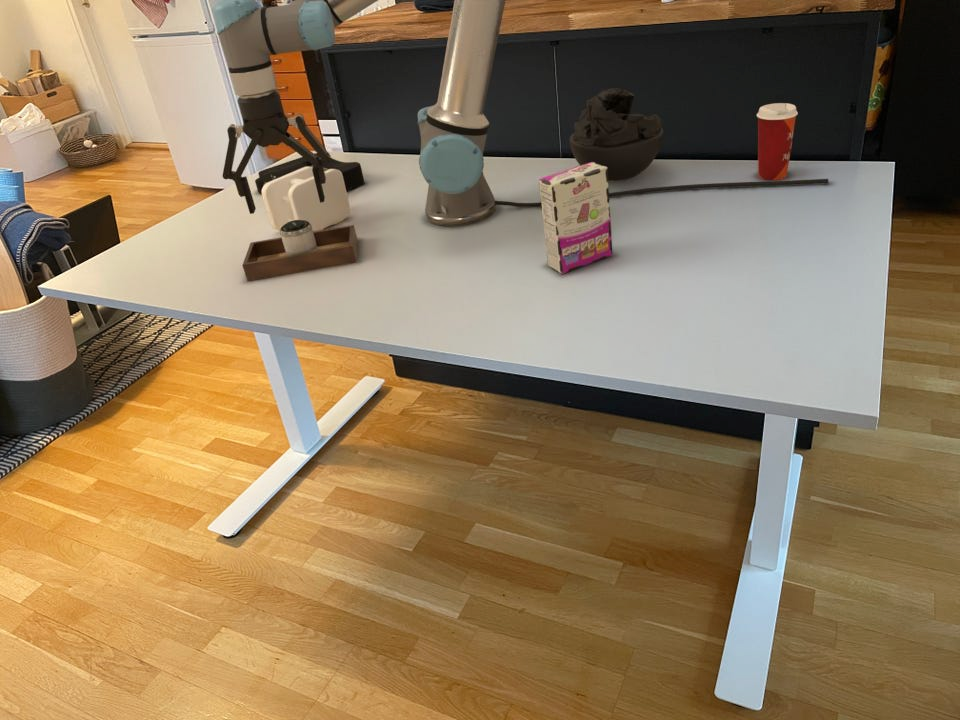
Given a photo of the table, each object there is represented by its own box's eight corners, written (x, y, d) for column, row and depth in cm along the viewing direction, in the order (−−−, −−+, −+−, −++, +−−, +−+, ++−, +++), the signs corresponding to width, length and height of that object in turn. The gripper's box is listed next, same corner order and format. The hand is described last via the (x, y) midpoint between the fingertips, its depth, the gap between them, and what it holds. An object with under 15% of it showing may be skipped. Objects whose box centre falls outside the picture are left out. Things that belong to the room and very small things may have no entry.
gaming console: (254, 192, 195) (246, 165, 191) (318, 169, 205) (311, 143, 202) (306, 210, 177) (299, 181, 173) (373, 184, 187) (367, 156, 184)
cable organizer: (302, 242, 160) (287, 190, 154) (272, 235, 166) (257, 184, 160) (353, 216, 169) (341, 166, 163) (323, 210, 175) (310, 162, 169)
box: (357, 240, 157) (353, 224, 155) (356, 262, 147) (352, 245, 145) (255, 257, 156) (250, 242, 154) (247, 281, 146) (242, 265, 144)
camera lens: (295, 269, 148) (284, 232, 144) (284, 260, 152) (273, 224, 148) (324, 259, 150) (314, 222, 146) (313, 250, 155) (303, 215, 151)
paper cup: (797, 179, 152) (804, 109, 145) (759, 184, 153) (763, 114, 146) (784, 167, 159) (790, 100, 152) (748, 172, 160) (751, 105, 152)
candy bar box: (597, 247, 137) (592, 160, 129) (613, 256, 133) (609, 166, 125) (545, 266, 134) (537, 177, 125) (560, 275, 130) (553, 184, 121)
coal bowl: (646, 158, 176) (644, 75, 166) (676, 184, 159) (677, 93, 149) (563, 173, 175) (557, 90, 165) (585, 201, 158) (579, 110, 148)
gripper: (327, 78, 138) (351, 189, 149) (192, 99, 137) (227, 209, 148) (325, 87, 131) (350, 201, 143) (183, 108, 130) (220, 222, 141)
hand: (287, 205), depth 145 cm, fingers open, 13 cm apart
